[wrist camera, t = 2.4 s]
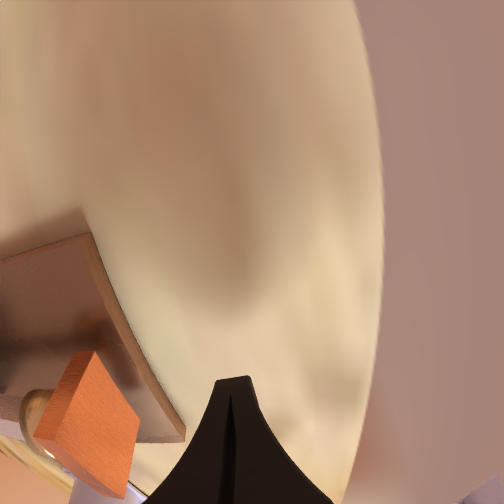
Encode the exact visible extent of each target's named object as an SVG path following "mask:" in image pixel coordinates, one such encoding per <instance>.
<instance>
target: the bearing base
mask: <svg viewBox="0 0 504 504" xmlns="http://www.w3.org/2000/svg"><path fill="white" fill-rule="evenodd" d="M90 351H95V352H96V354H97V355H98V357H99V359H100V360H101V362H102V364H103V365H104V367H105V369H106V370H107V372H108V373H109V375H110V377H111V378H112V380H113V381H114V383H115V384H116V386H117V387H118V389H119V390H120V392H121V393H122V395H123V396H124V398H125V399H126V401H127V402H128V403H129V405H130V406H131V408H132V409H133V410H134V412H135V413H136V415H137V416H138V417H139V419H140V424H139V428H138V433H137V437H136V442H135V443H179V442H185V435H186V427H185V426H184V424H183V423H182V421H181V420H180V418H179V416H178V415H177V413H176V412H175V410H174V408H173V407H172V405H171V403H170V402H169V400H168V398H167V397H166V395H165V393H164V392H163V390H162V388H161V386H160V385H159V383H158V381H157V379H156V378H155V376H154V374H153V372H152V370H151V368H150V367H149V365H148V363H147V361H146V359H145V357H144V355H143V353H142V351H141V349H140V347H139V345H138V343H137V341H136V339H135V337H134V335H133V333H132V331H131V329H130V327H129V325H128V323H127V321H126V319H125V316H124V314H123V312H122V310H121V307H120V305H119V303H118V301H117V298H116V296H115V294H114V291H113V289H112V286H111V284H110V282H109V279H108V277H107V274H106V272H105V269H104V266H103V264H102V261H101V259H100V256H99V253H98V250H97V248H96V245H95V242H94V239H93V236H92V233H91V232H89V233H85V234H82V235H79V236H75V237H72V238H69V239H65V240H62V241H59V242H56V243H52V244H49V245H46V246H43V247H40V248H37V249H34V250H31V251H28V252H25V253H22V254H19V255H16V256H13V257H10V258H7V259H4V260H1V261H0V394H3V395H10V396H18V397H25V395H26V394H27V393H28V392H29V391H31V390H33V389H56V387H57V385H58V383H59V381H60V379H61V377H62V375H63V373H64V372H65V370H66V368H67V366H68V364H69V362H70V361H71V359H72V357H73V355H74V353H77V352H90Z"/></svg>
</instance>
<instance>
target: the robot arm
mask: <svg viewBox="0 0 504 504" xmlns="http://www.w3.org/2000/svg"><path fill="white" fill-rule="evenodd" d="M61 469H62V470H63V471H65V472H66V473H67V474H68V475H70V476H71V477H72V478H73V479H75V481H74V485H73V489H72V492H71V496H70V500H69V504H334V503H333V502H332V501H331V499H330V498H328V497H327V496H326V495H325V494H324V493H323V492H322V491H321V490H320V489H318V488H317V487H316V486H315V485H314V484H313V483H312V482H311V481H310V480H309V479H308V478H307V477H306V476H305V474H304V473H303V472H302V471H301V470H300V469H299V468H298V466H297V465H296V464H295V463H294V462H293V461H292V459H291V458H290V457H289V456H288V454H287V453H286V452H285V450H284V449H283V447H282V446H281V445H280V443H279V442H278V440H277V439H276V437H275V436H274V434H273V432H272V431H271V429H270V427H269V426H268V424H267V422H266V420H265V418H264V416H263V414H262V412H261V410H260V408H259V404H258V400H257V397H256V394H255V390H254V387H253V384H252V380H251V377H250V376H247V375H246V376H240V377H234V378H228V379H221V380H217V381H216V382H215V385H214V388H213V391H212V394H211V397H210V400H209V403H208V405H207V408H206V410H205V413H204V415H203V417H202V420H201V422H200V424H199V426H198V428H197V430H196V432H195V434H194V436H193V438H192V440H191V442H190V444H189V446H188V447H187V449H186V451H185V452H184V454H183V455H182V457H181V458H180V460H179V461H178V463H177V464H176V466H175V467H174V468H173V470H172V471H171V472H170V474H169V475H168V476H167V477H166V479H165V480H164V481H163V482H162V483H161V484H160V485H159V486H158V488H157V489H156V490H155V491H154V492H153V493H152V494H151V495H150V496H149V497H147V496H145V495H144V494H143V493H141V492H140V491H139V490H137V489H136V488H135V487H134V486H132V485H131V484H130V483H129V482H127V488H126V494H125V500H124V499H117V498H111V497H105V496H102V495H100V494H99V493H98V492H96V491H95V490H93V489H92V488H91V487H89V486H88V485H87V484H85V483H84V482H83V481H82V480H80V479H79V478H78V477H77V476H75V475H74V474H73V473H72V472H70V471H69V470H68V469H67V468H66V467H64V466H63V465H62V466H61ZM454 504H504V485H503V483H502V482H501V480H500V478H499V476H498V475H497V474H495V475H494V476H492V477H491V478H490V479H488V480H487V481H485V482H484V483H482V484H481V485H479V486H478V487H476V488H475V489H473V490H472V491H470V492H469V493H468V494H466V495H465V496H464V498H462V499H461V500H459V501H458V502H456V503H454Z"/></svg>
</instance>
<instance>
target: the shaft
mask: <svg viewBox="0 0 504 504" xmlns="http://www.w3.org/2000/svg"><path fill="white" fill-rule="evenodd" d="M139 424H140V419H139V417H138V416H137V415H136V413H135V412H134V410H133V409H132V408H131V406H130V405H129V403H128V402H127V401H126V399H125V398H124V396H123V395H122V393H121V392H120V390H119V389H118V387H117V386H116V384H115V383H114V381H113V380H112V378H111V377H110V375H109V373H108V372H107V370H106V369H105V367H104V365H103V364H102V362H101V360H100V359H99V357H98V355H97V354H96V352H95V351H90V352H77V353H74V355H73V357H72V359H71V361H70V362H69V364H68V366H67V368H66V370H65V372H64V373H63V375H62V377H61V379H60V381H59V383H58V385H57V387H56V389H33V390H31V391H29V392H28V393H27V394H26V395H25V397H18V396H10V395H3V394H0V434H1V435H4V436H7V437H11V438H14V439H18V440H21V441H25V442H26V443H27V444H28V445H29V447H30V448H31V449H32V450H33V451H34V452H36V453H37V454H39V455H41V456H44V457H49V458H53V459H56V460H58V461H59V462H60V463H61V464H62V465H63V466H64V467H66V468H67V469H68V470H69V471H70V472H72V473H73V474H74V475H75V476H77V477H78V478H79V479H80V480H82V481H83V482H84V483H85V484H87V485H88V486H89V487H91V488H92V489H93V490H95V491H96V492H98V493H99V494H100V495H102V496H105V497H111V498H117V499H124V500H125V494H126V488H127V482H128V477H129V472H130V467H131V461H132V456H133V452H134V447H135V442H136V437H137V433H138V428H139Z"/></svg>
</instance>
